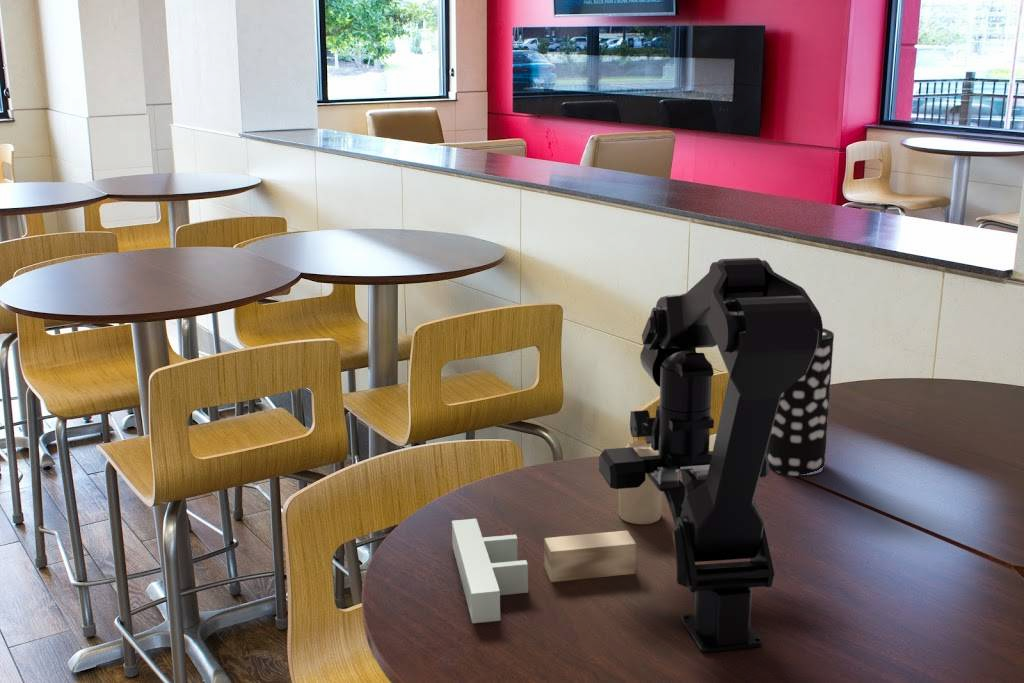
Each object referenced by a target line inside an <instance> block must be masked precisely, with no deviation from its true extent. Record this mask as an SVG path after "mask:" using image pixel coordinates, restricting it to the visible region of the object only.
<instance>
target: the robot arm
mask: <svg viewBox="0 0 1024 683" xmlns="http://www.w3.org/2000/svg"><path fill="white" fill-rule="evenodd" d="M650 311H651V312H650V316H649V317H648V318H647V320H646V324H645V327H644V329H643V331H642V334H641V340H642V345H643V347H642V349H641V351H640V354H639V355H640V363H641V365H642V366H641V367H642V368H643V370H644V371H645V372H646V373H647V374H648V376H649V377H650V378H651V380H652V381H653V382H654V383H655V385H656V386H658V387H659V406H656V409H655V416H654V417H651V416H650V411H649V410H648V409H647V410H646V409H645V410H631V411H630V419H629V428H630V436H631V437H632V438H643V437H644V438H645V440H646V444H649V443H651V448H652V449H653V450H654V451H655V450H658V451H659V452H658V455H656V456H644V457H640V456H639V455H638V454H637V452H636V451H635V450H634V449H633V447H627V448H625V447H617V448H616V447H615V448H604V449H603V451H602V452H601V454H600V455H599V457H598V471H599V473H600V474H601V476H602V477H603V479H604V480H605V482H606V484H607V485H608V487H609V488H611V489H614V490H619V489H624V488H636V487H639V486H640V485H641V484H642V483H643V482H644V481H645V476H646V473H647V475H648V477H649V478H650V479H651V481H652V482H653V483H654V485H655V486H656V487H657V488H658V490H659V491H662V493H664V496H665V498H666V500H667V504H668V507H669V510H670V513H671V517H672V519H673V521H674V525H675V526H673V527H674V529H673V531H672V540H673V546H674V554H675V561H676V582H677V585H679V586H682V587H684V588H687V590H688V592H689V593H691V594H692V593H694V602H693V603H694V606H693V614H692V613H691V614H685V615H683V616H682V618H681V621H682V623H683V625H684V626H685V628H686V630H687V631H688V632H689V635H690V636H691V637H692V639H693V640H694V642H695V644H696V645H697V647H698V649H699V650H700V651H701V652H703V653H713V652H721V651H728V650H739V649H745V648H747V649H748V648H757V647H758V648H759V647H761V646H763V639H762V638H761V636H760V635H759V633H758V632H757V631H756V629H755V628H754V627H753V625H752V624H751V617H752V616H751V615H752V599H753V598H752V597H753V588H772V584H773V581H774V577H775V570H774V566H773V561H772V556H771V552H770V548H769V543H768V538H767V534H766V528H765V524H764V522H763V518H762V516H761V513H760V511H759V507H758V505H757V503H756V500H755V494H756V492H757V488H758V483H759V481H760V480H759V479H760V478H765V477H767V476H769V470H770V469H769V459H768V456H767V454H766V451H767V447H768V443H769V439H770V435H771V432H772V428H773V424H774V420H775V417H776V413H777V409H778V405H779V402H780V398H781V395H782V393H783V392H784V391H786V390H787V389H788V388H789V387H791V386H792V385H793V384H794V383H796V382H797V381H798V380H799V379H800V378H802V377H803V376H804V375H805V374H806V373H807V371H808V369H809V366H810V364H811V362H812V359H813V357H814V355H815V352H816V349H817V347H818V346H819V345H820V343H821V340H822V334H823V321H822V315H821V313H820V311H819V310H818V308H817V307H816V305H815V304H814V302H813V301H812V299H811V298H810V296H809V295H808V292H806V290H805V288H803V287H802V286H800V285H799V284H797V283H795V282H793V281H792V280H789V279H788V278H786V277H784V276H782V275H780V274H778V273H777V272H774V270H773V268H772V266H771V265H770V263H769V262H768V261H767V260H764V259H763V260H762V259H761V258H759V257H747V258H746V257H744V258H721V259H719V260H718V261H713V262H712V263H711V264H710V266H709V270H708V272H707V274H706V275H704V276H703V277H702V278H701V279H700V280H698V282H696V283H695V284H694V285H693V286H692V287H691V288H690V289H689V290H688V291H686V292H685V293H677V294H670V295H665V296H661V297H660V298H658V300H657V302H656V305H655V307H652V309H651V310H650ZM716 346H717V349H718V351H719V353H720V355H721V358H722V360H723V362H724V363H723V364H724V366H725V368H726V370H727V373H728V376H729V377H728V380H727V384H726V389H725V394H724V398H723V403H722V408H721V412H720V416H719V421H718V426H717V430H716V436H715V438H714V444H713V447H712V448H713V449H712V450H711V451H710V437H711V436H710V435H711V434H710V432H711V431H710V430H711V429H715V419H714V418H713V417H712V416H711V408H712V404H711V403H712V384H713V383H712V382H713V381H712V380H713V378H712V377H713V376H714V367H713V365H712V363H711V362H710V361H709V360H708V359H707V358H706V355H705V353H704V352H697V349H698V348H699V349H700V348H714V347H716ZM680 472H681V480H682V481H681V480H680ZM744 559H745V560H747V559H750V560H748V561H734V562H733V560H744ZM716 561H719V562H717V563H716ZM720 561H730V562H720ZM731 561H732V562H731ZM702 562H715V563H702ZM696 563H700V564H696Z"/></svg>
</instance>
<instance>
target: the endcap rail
mask: <svg viewBox="0 0 1024 683" xmlns="http://www.w3.org/2000/svg"><path fill="white" fill-rule="evenodd" d="M451 531H452V533H451V534H452V550H453V553H454V557H455V562H456V564H457V568H458V572H459V576H460V580H461V584H462V587H463V592H464V596H465V599H466V604H467V608H468V611H469V615H470V620H471V624H480V623H491V622H499V621H501V596H505V595H516V594H517V595H518V594H526V593H527V594H528V593H529V564H528V561H527V559H525V560H524V559H523V560H522V559H520V560H519V557H518V556H519V553H518V549H519V548H518V547H519V546H518V545H519V544H518V542H519V541H518V537H517V534H507V535H495V536H484V537H483V536H482V535H483V534H482V532H481V529H480V525H479V523H478V519H477V518H469V519H467V518H466V519H459V520H458V519H456V520H451Z"/></svg>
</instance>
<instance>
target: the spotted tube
mask: <svg viewBox="0 0 1024 683" xmlns="http://www.w3.org/2000/svg"><path fill="white" fill-rule="evenodd" d="M834 338H835V334H834V332H833V331H831V330H829V329H827V328H823V334H822V340H821V343H820V345H819V346H818V347H817V349H816V352H815V355H814V357H813V359H812V362H811V364H810V366H809V369H808V371H807V373H806V374H805V375H804V376H803V377H802V378H800V379H799V380H798V381H797V382H796V383H794V384H793V385H792V386H791V387H789V388H788V389H787V390H786V391H784V392H783V393H782V395H781V398H780V402H779V405H778V409H777V413H776V417H775V420H774V424H773V428H772V432H771V435H770V439H769V443H768V447H767V451H766V454H767V456H768V459H769V470H771V471H772V472H776V473H779V474H782V475H787V476H792V477H799V476H798V475H801V474H802V475H803V474H807V473H810V472H814V471H817V470H819V469H820V468H822V467H823V466H824V467H825V465H824V463H825V462H826V451H827V450H826V449H827V448H826V447H827V435H828V423H829V420H828V419H829V411H830V410H829V407H830V395H831V394H830V393H831V381H832V379H831V378H832V366H833V365H832V364H833V352H834Z"/></svg>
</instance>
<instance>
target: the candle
mask: <svg viewBox="0 0 1024 683" xmlns="http://www.w3.org/2000/svg"><path fill="white" fill-rule="evenodd" d="M627 447H633V449H634V450H635V451H636V452H637V454H638V455H639V456H640V457H644V456H656V455H658V452H659V451H658V450H655V451H654V450H653V449H652V448H651V443H649V444H646V439H645V440H635V441H633V442H632V443H628V444H627V445H626V446H625V447H624V448H627ZM662 499H663V491H659V490H658V488H657V487H656V486H655V485H654V483H653V482H652V481H651V479H650V478H649V477H648V475H647V473H646V476H645V481H644V482H643V483H642V484H641V485H640V486H639V487H636V488H624V489H618V516H619V518H620V520H622V521H624V522H626V523H629V524H633V525H650V524H654V523H656V522H659V520H660V519H661V516H662Z"/></svg>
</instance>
